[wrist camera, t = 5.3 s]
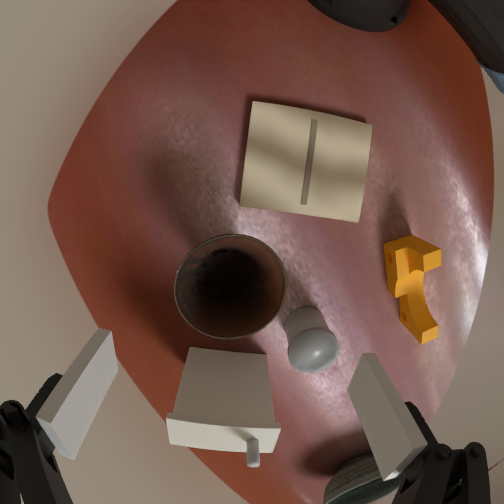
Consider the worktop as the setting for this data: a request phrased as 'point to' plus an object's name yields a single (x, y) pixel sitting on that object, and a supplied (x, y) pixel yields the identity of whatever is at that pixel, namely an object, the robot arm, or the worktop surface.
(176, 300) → the cup
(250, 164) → the board
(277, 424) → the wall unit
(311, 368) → the grey knob
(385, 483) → the bowl
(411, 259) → the yellow shaft support bracket
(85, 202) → the worktop surface
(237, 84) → the worktop surface
